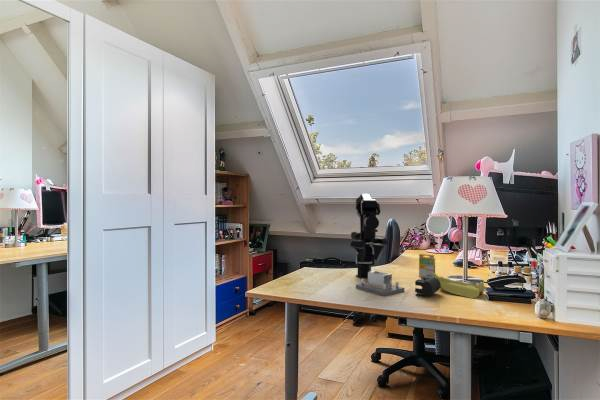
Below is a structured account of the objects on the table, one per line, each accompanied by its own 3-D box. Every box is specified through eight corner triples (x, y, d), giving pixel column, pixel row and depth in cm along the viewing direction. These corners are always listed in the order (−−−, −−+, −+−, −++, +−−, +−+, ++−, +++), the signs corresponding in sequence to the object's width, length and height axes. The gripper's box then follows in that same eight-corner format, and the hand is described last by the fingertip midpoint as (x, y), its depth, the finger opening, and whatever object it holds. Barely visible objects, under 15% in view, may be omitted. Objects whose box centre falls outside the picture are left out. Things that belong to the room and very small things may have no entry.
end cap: (431, 299, 144) (432, 282, 144) (414, 295, 149) (414, 279, 149) (440, 294, 152) (441, 277, 152) (424, 291, 156) (424, 275, 156)
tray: (375, 284, 168) (375, 275, 168) (404, 291, 155) (404, 282, 155) (355, 288, 160) (355, 279, 160) (384, 296, 148) (384, 286, 148)
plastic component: (485, 287, 154) (481, 281, 146) (482, 305, 151) (477, 299, 144) (438, 277, 166) (431, 271, 159) (434, 293, 164) (427, 287, 157)
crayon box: (435, 277, 183) (435, 254, 183) (433, 278, 180) (434, 255, 180) (420, 275, 187) (420, 253, 187) (418, 277, 184) (419, 254, 184)
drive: (375, 283, 163) (375, 270, 163) (391, 287, 156) (391, 273, 156) (367, 284, 160) (367, 271, 160) (383, 288, 153) (384, 275, 153)
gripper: (369, 224, 178) (369, 256, 179) (342, 226, 167) (341, 260, 167) (388, 226, 169) (387, 260, 170) (360, 229, 158) (359, 264, 158)
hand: (368, 261), depth 166 cm, fingers open, 9 cm apart
